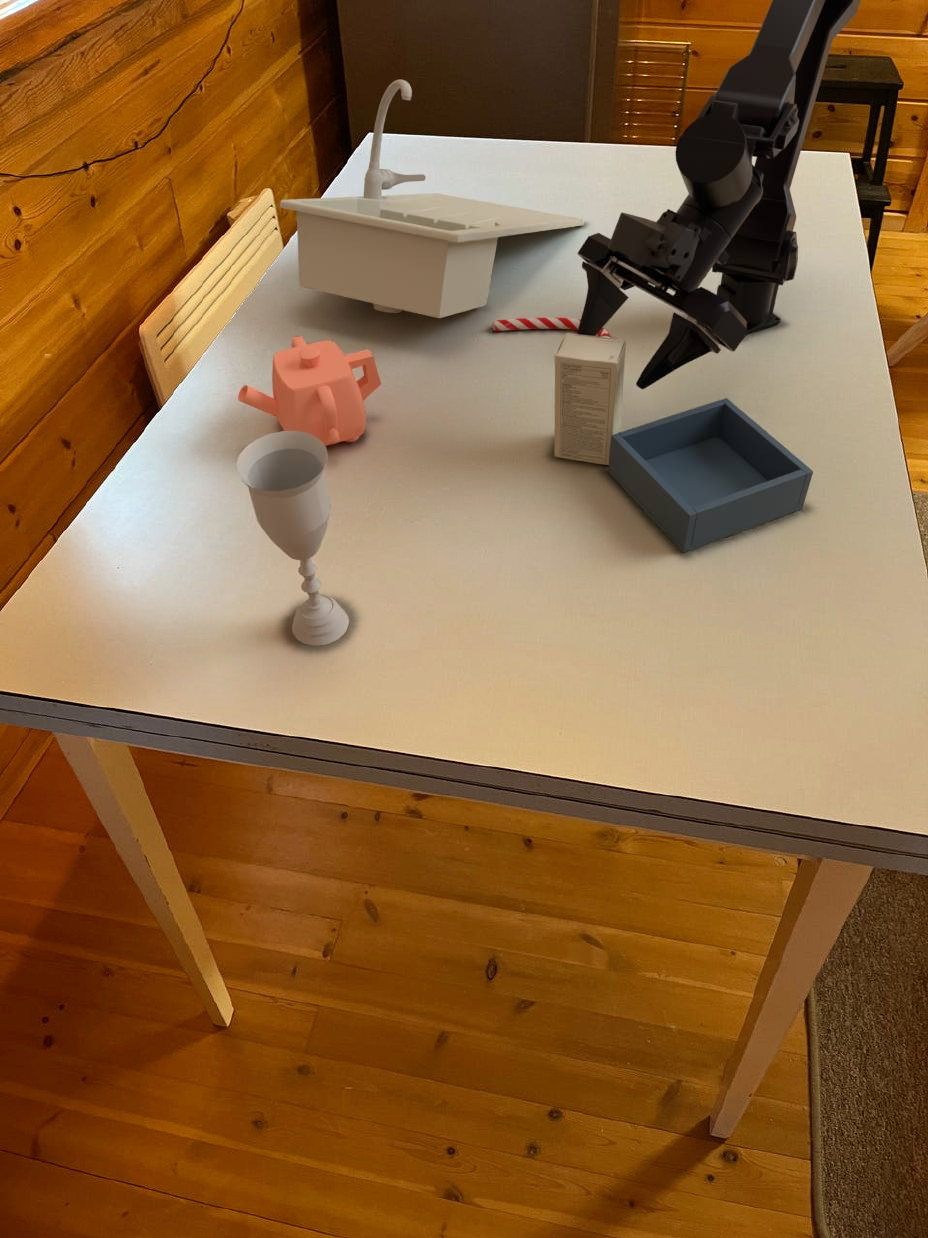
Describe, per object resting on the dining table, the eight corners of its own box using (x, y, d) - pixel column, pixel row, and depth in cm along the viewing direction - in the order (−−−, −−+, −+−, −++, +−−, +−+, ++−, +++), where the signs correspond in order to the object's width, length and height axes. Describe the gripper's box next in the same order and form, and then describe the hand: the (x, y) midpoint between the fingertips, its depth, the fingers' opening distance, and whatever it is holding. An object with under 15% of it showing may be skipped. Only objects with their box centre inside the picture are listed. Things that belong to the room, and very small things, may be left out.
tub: (719, 434, 98) (726, 397, 95) (802, 509, 89) (813, 471, 86) (607, 472, 94) (611, 434, 91) (683, 553, 86) (689, 515, 83)
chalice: (283, 598, 84) (240, 434, 71) (358, 591, 84) (328, 426, 71) (279, 659, 79) (231, 495, 66) (359, 651, 79) (327, 487, 66)
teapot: (247, 449, 100) (226, 371, 93) (308, 391, 107) (292, 314, 100) (338, 476, 96) (323, 396, 89) (395, 414, 103) (385, 335, 96)
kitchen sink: (571, 299, 138) (603, 108, 126) (447, 338, 106) (474, 87, 93) (432, 270, 146) (449, 88, 134) (277, 298, 114) (282, 62, 102)
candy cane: (499, 306, 115) (618, 321, 112) (500, 316, 116) (617, 331, 113) (480, 338, 111) (604, 355, 107) (481, 348, 112) (603, 365, 108)
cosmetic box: (619, 442, 98) (629, 339, 89) (610, 468, 95) (619, 363, 86) (561, 433, 99) (566, 330, 90) (550, 457, 96) (554, 354, 88)
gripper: (598, 145, 86) (503, 293, 90) (747, 211, 75) (632, 377, 79) (652, 207, 95) (563, 340, 99) (793, 274, 84) (687, 421, 88)
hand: (607, 366), depth 91 cm, fingers open, 9 cm apart
